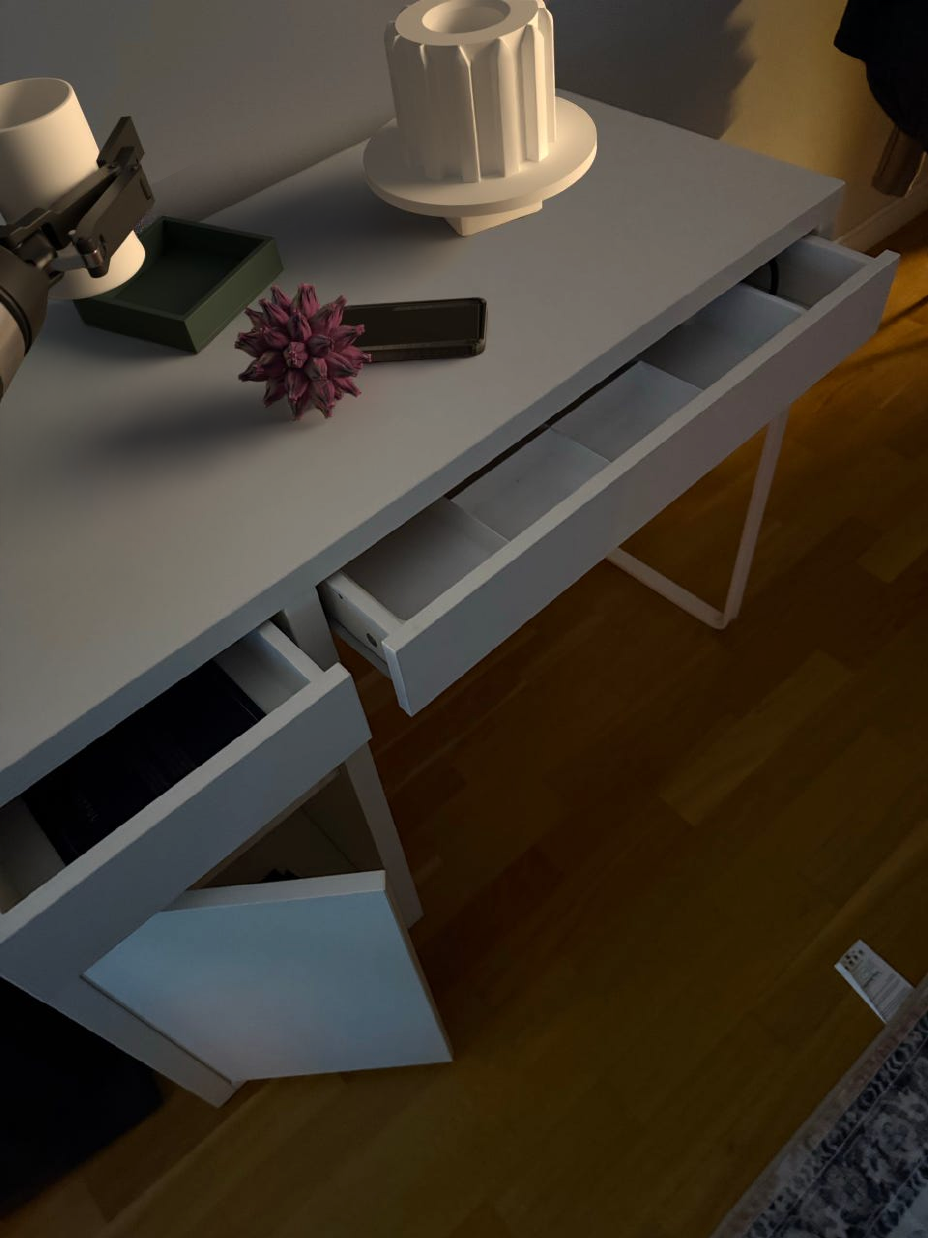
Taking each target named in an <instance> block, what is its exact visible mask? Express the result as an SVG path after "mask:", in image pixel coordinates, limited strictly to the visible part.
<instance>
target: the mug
mask: <svg viewBox="0 0 928 1238" xmlns="http://www.w3.org/2000/svg"><path fill="white" fill-rule="evenodd" d="M96 142H97V141H96V140H95V138H94V134H93V132H92V130H91V128H90V125H89V123H88V121H87V119H86V116H85V113H84V112H83V109H82V106H81V105H80V102H79V99H78V97H77V95H76V92H75V91H74V88H73V86H72V85H71V84H70V83H69V82H67V81H66V80H63V79H60V78H55V77H31V78H24V79H23V78H22V79H18V80H13V81H10V82H6V83H2V84H0V215H1V217H2V218H3V220H4V223H5V225H7V224H11V225H12V224H14V223H16V222H17V221H18V220H20V219H21V218H22V217H24V216H25V215H26V214H27V213H29V212H30V211H31V210H33V209H34V208H36V207H38V208H44V209H47V208H49V207H50V206H51V205H53V204H54V203H55V202H57V201H58V200H59V199H61V198H62V197H63V196H64V195H66V194H67V193H68V192H70V191H71V190H72V189H74V188H75V187H76V186H78V185H79V184H80V183H81V182H83V181H84V180H85V179H87V178H88V177H89V176H91V175H92V174H93V173H95V172H96V171H97V170H98V169H99V167H98V165H97V162H96V160H97V157H98V155H99V153H100V149H99V147H98V145H97V143H96ZM39 229H41V228H40V227H39ZM144 258H145V250H144V247H143V245H142V244H141V242H140V241H139V240H138V238H137V235H136V233H135V231H134V229H133V230H132V232H131V233H130V234H129V235H128V237H127V238H126V239H125V241H124V242H123V243H122V244H121V246H120V247H119V248H118V250H117V251H116V252H115V253H114V255H113V256H112V257H111V261H110V266H109V270H108V273H107V274H106V275H105V276H103V277H101V278H91V277H90V275H89V273H88V271H87V269H85V268H81V269H75V270H69V271H65V275H64V277H63V278H62V279H61V280H60V281H59V282H58V283H57V284H55V285H54V286H53V287H52V288H51V289H50V290H49V292H48V298H52V299H57V300H71V299H81V298H87V297H91V296H95V295H98V294H101V293H104V292H107V291H109V290H111V289H114V288H116V287H117V286H119V285H121V284H123V283H124V282H126V281H127V280H128V279H130V278H131V277H132V276H133V275H134V274H135V273H136V272H137V271H138V270H139V269H140V267H141V266H142V264H143V262H144Z"/></svg>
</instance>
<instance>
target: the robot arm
mask: <svg viewBox="0 0 928 1238" xmlns="http://www.w3.org/2000/svg"><path fill="white" fill-rule="evenodd" d="M99 152H100V153H99V155H98V157H97V160H96V162H97V165H98V167H99V169H98V170H97V171H96V172H95V173H93V174H92V175H91V176H89V177H88V178H87V179H85V180H84V181H83V182H81V183H80V184H79V185H78V186H76V187H75V188H74V189H72V190H71V191H70V192H68V193H67V194H66V195H64V196H63V197H62V198H61V199H59V200H58V201H57V202H55V203H54V204H53V205H51V206H50V207H49V208H47V209H44V208H38V207H36V208H34V209H33V210H31V211H30V212H29V213H27V214H26V215H25V216H24V217H22V218H21V219H20V220H18V221H17V222H16V223H14V224H12V225H11V224H4V225H3V224H0V403H1V402H2V399H3V398H4V396H5V394H6V393H7V391H8V390H9V389H8V388H9V387H10V385H11V383H12V381H13V380H14V378H15V376H16V374H17V372H18V370H19V369H20V367H21V365H22V363H23V361H24V359H25V357H27V355H28V353H29V352H30V350H31V348H32V346H33V344H34V343H35V341H36V339H37V337H38V335H39V334H40V331H41V330H42V328H43V326H44V324H45V322H46V319H47V314H48V313H47V312H48V302H49V301H48V298H49V296H48V292H49V290H50V289H51V288H52V287H53V286H54V285H55V284H57V283H58V282H59V281H60V280H61V279H62V278H63V277H64V275H65V271H69V270H75V269H81V268H85V269H87V271H88V273H89V275H90V277H91V278H101V277H103V276H105V275H106V274H107V273H108V270H109V266H110V261H111V257H112V256H113V255H114V253H115V252H116V251H117V250H118V248H119V247H120V246H121V244H122V243H123V242H124V241H125V239H126V238H127V237H128V235H129V234H130V233H131V232H132V230H133V231H134V229H135V228H136V227H137V225H138V224H139V223H140V221H141V220H142V219H143V218H144V216H145V215H146V214H147V213H148V212H149V210H150V209H151V208H152V207H153V205H154V203H155V202H156V200H155V197H154V194H153V192H152V189H151V185H150V184H149V182H148V178H147V176H146V174H145V172H144V171H145V170H144V169H143V165H142V163H141V162H142V160H143V158H144V156H145V154H146V152H145V150H144V147H143V145H142V142H141V140H140V137H139V134H138V131H137V129H136V127H135V124H134V122H133V118H132V116H131V115H126V116H120V118H119V119H118V121H117V123H116V124H115V126H114V127H113V130H112V131H111V133H110V135H109V136H108V138H107V139H106V141H105V143H104V145H103V146H102V147H101V149H100V150H99ZM39 227H40V228H41V229H39Z"/></svg>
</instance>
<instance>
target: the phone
mask: <svg viewBox="0 0 928 1238" xmlns="http://www.w3.org/2000/svg"><path fill="white" fill-rule="evenodd" d="M488 312H489V311H488V302H487V300H486V299H485V298H483V297H480V296H472V297H457V298H441V299H428V300H427V299H426V300H411V301H409V300H408V301H395V302H393V301H392V302H383V303H382V302H379V303H362V304H349V305H345V306H344V308H343V314H342V320H341V322H340V324H339V326H342V325H348V326H358V325H364V327H363V328H364V332H363V333H361V335H359V336H357V338H356V339H355V340H354V342H353V343H352V344H351V345H350V346H353V347H355V348H357V349H359V350H360V351H362V352H363V353H366V354H371V362H385V361H401V360H403V361H405V360H421V359H422V360H423V359H437V358H440V359H441V358H456V357H457V358H458V357H459V358H460V357H473V356H474V357H475V356H478V355H480V354H482V353H483V352H484V351H485V350H486V343H487V329H488V315H489V313H488Z"/></svg>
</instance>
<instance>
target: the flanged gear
mask: <svg viewBox="0 0 928 1238" xmlns="http://www.w3.org/2000/svg"><path fill="white" fill-rule="evenodd" d="M553 19H554V18H553V15H552V13H551V11H549V10H548V8H547V7H546V4H545V2H544V0H417V1H416V2H414V3H412V4H411V5H409V4H405V5H404V6H402V8H401V9H400V10H399V13H398V16H397V17H396V20H390V21H388V23H387V24H386V27H385V30H384V33H383V43H384V49H385V56H386V61H387V68H388V74H389V75H388V76H389V80H390V87H391V93H392V98H393V105H394V110H395V117H393V118H392V119H390V120H388V121H387V122H386V123H385V124H383V125H382V126H381V127H380V128H379V129H378V130H377V131H376V132H375V133H374V134H373V135H372V136H371V137H370V139H369V140H368V142H367V144H366V145H365V148H364V150H363V153H362V165H363V171H364V175H365V179H366V183H367V184H368V187H369V189H371V191H372V192H373V193H374V194H375V195H376V196H377V197H378V198H380V199H381V200H383V201H384V202H386V203H387V204H390V205H391V206H394V207H396V208H398V209H400V210H404V211H406V212H411V213H413V214H414V213H415V214H419V215H424V216H431V217H442V218H443V219H445V221H446V222H447V223H448V224H449V225H450V227H452V228H453V229H454V231H455V232H456V233H457V234H458V235H460V236H462V237H469V236H472V235H474V234H475V235H476V234H477V233H481V232H483V231H487V230H489V229H492V228H494V227H498V226H500V225H503V224H507V223H509V222H512V221H514V220H518V219H521V218H523V217H526V216H528V215H531V214H534V213H537V212H539V211H540V210H542V209H543V201H545V200H547V199H549V198H552V197H554V196H556V195H558V194H560V193H561V192H563V191H564V190H566V189H569V187H571V186H572V185H574V184H575V183H576V182H578V180H580V179H581V178H582V177H583V176H584V175H585V174H586V173H587V171H588V170H589V169H590V168H591V166H592V164H593V162H594V161H595V158H596V155H597V149H598V148H597V147H598V143H597V142H598V141H597V140H598V134H597V127H596V125H595V122H594V120H593V118H592V117H591V116H590V115H589V114H588V113H587V112H586V110H584V109H583V108H581V107H580V106H578V105H577V104H576V103H573V102H572V101H570V100H567V99H565V98H562V97H559V96H556V87H555V86H556V85H555V50H554V49H555V48H554V47H555V45H554V20H553Z"/></svg>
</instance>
